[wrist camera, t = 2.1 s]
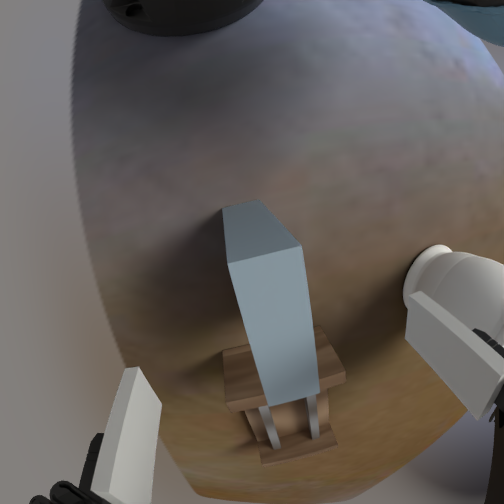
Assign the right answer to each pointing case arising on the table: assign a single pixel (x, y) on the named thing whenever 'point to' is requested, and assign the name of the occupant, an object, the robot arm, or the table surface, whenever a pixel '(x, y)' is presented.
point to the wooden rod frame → (284, 405)
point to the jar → (461, 287)
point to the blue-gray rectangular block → (272, 300)
